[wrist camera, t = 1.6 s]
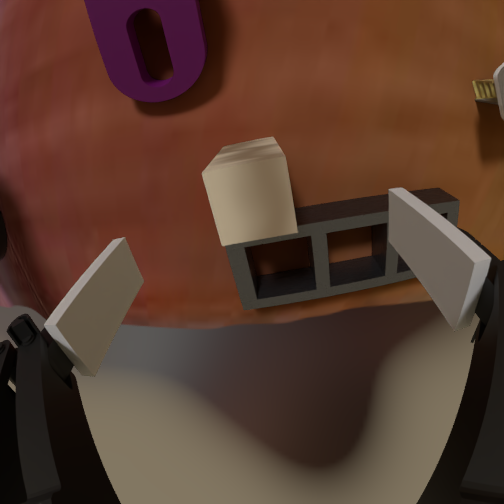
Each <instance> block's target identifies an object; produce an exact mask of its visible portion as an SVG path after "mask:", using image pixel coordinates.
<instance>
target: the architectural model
mask: <svg viewBox="0 0 504 504" xmlns="http://www.w3.org/2000/svg"><path fill="white" fill-rule="evenodd" d="M493 78H494V79H492V80H474V81H473V82H472V83H473V87H474V90H475V94H476V97H477V98H475V101H477V102H484V103H490V104H496V105H499V109H500V114H501V118H502V119H503V120H504V63H503V64H502V65H500V66H499V67H498V68H497V69H496V71H495V73H494V75H493Z"/></svg>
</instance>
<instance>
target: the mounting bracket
mask: <svg viewBox="0 0 504 504" xmlns="http://www.w3.org/2000/svg"><path fill="white" fill-rule="evenodd" d="M84 1H85V4H86V8H87V12H88V15H89V18H90V22H91V25H92V28H93V31H94V35H95V38H96V41H97V44H98V47H99V50H100V53H101V56H102V59H103V62H104V64H105V67H106V70H107V73H108V75H109V78H110V80H111V81H112V83H113V84H114V86H115V87H116V88H117V89H118V90H119V91H121V92H122V93H123V94H125V95H126V96H128V97H130V98H132V99H135V100H138V101H143V102H161V101H166V100H169V99H172V98H175V97H177V96H179V95H180V94H182V93H184V92H185V91H186V90H188V89H189V88H190V87H191V86H192V85H193V84H194V83H195V81H196V80H197V79H198V77H199V75H200V73H201V71H202V69H203V67H204V64H205V61H206V57H207V41H206V36H205V31H204V26H203V21H202V16H201V10H200V5H199V0H84ZM144 8H150V9H153V10H155V11H156V12H157V13H158V14H159V15H160V18H161V22H162V26H163V30H164V34H165V38H166V42H167V46H168V50H169V53H170V57H171V61H172V65H173V69H174V74H173V76H172V77H171V78H169V79H167V80H156V79H154V78H152V77H151V76H150V75H149V74H148V72H147V69H146V65H145V62H144V59H143V55H142V52H141V49H140V45H139V42H138V38H137V35H136V31H135V27H134V19H135V16H136V15H137V13H138V12H139V11H141V10H142V9H144Z"/></svg>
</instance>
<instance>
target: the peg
mask: <svg viewBox="0 0 504 504" xmlns="http://www.w3.org/2000/svg"><path fill="white" fill-rule="evenodd" d="M202 176H203V180H204V183H205V187H206V191H207V194H208V198H209V202H210V205H211V209H212V212H213V216H214V220H215V223H216V227H217V230H218V234H219V237H220V241H221V244H222V246H225V245H231V244H236V243H242V242H248V241H253V240H259V239H265V238H270V237H276V236H282V235H287V234H293V233H298V230H297V223H296V217H295V210H294V204H293V198H292V191H291V185H290V179H289V174H288V168H287V162H286V157H285V155H284V153H283V152H282V150H281V148H280V147H279V145H278V144H277V142H276V141H275V139H274V137H269V138H263V139H258V140H252V141H247V142H242V143H238V144H233V145H228V146H224V147H223V148H222V149H221V150H220V152H219V153H218V154H217V155H216V156H215V158H214V159H213V160H212V161H211V162H210V164H209V165H208V166H207V167H206V169H205V170H204V171H203V172H202Z"/></svg>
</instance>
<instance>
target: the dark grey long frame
mask: <svg viewBox="0 0 504 504" xmlns="http://www.w3.org/2000/svg"><path fill="white" fill-rule="evenodd" d="M408 192H409V193H411V194H412V195H414V196H415V197H417V198H418V199H419V200H421V201H422V202H424V203H425V204H426V205H428V206H429V207H430V208H432V209H433V210H435V211H436V212H437V213H439V214H440V215H441V216H442V217H444V218H445V219H446V220H448V221H449V222H450V223H451V224H453V225H454V226H455V227H457V222H458V213H459V201H460V200H458V199H456V198H455V197H453V196H452V195H450V194H448V193H447V192H445V191H443V190H442V189H440V188H432V189H424V190H416V191H408ZM294 210H295V217H296V223H297V230H298V233H293V234H287V235H282V236H276V237H270V238H265V239H259V240H253V241H248V242H242V243H236V244H231V245H225V247H226V251H227V254H228V258H229V261H230V265H231V268H232V272H233V275H234V279H235V282H236V286H237V289H238V292H239V296H240V299H241V303H242V306H243V309H244V310H250V309H257V308H263V307H270V306H276V305H282V304H288V303H294V302H300V301H306V300H311V299H317V298H322V297H328V296H333V295H338V294H343V293H348V292H353V291H358V290H363V289H368V288H372V287H377V286H381V285H386V284H390V283H395V282H399V281H403V280H407V279H411V278H416V275H415V274H414V273H413V271H412V270H411V269H410V268H409V266H408V265H407V264H406V262H405V261H404V260H403V259H402V257H401V256H400V255H399V253H398V252H397V251H396V250H395V248H394V247H393V246H392V245H391V244H390V242H389V241H388V237H389V194H385V195H378V196H371V197H364V198H357V199H350V200H344V201H337V202H331V203H324V204H318V205H312V206H306V207H300V208H294ZM371 225H372V256H368V257H362V258H357V259H352V260H346V261H341V262H336V263H330V264H329V259H328V246H327V235H326V233H329V232H335V231H341V230H347V229H353V228H359V227H365V226H371ZM301 237H307V245H308V254H309V262H310V267H308V268H302V269H297V270H291V271H285V272H279V273H273V274H267V275H261V276H257V274H256V270H255V266H254V261H253V257H252V253H251V249H250V246H255V245H260V244H266V243H272V242H278V241H283V240H289V239H295V238H301Z"/></svg>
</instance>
